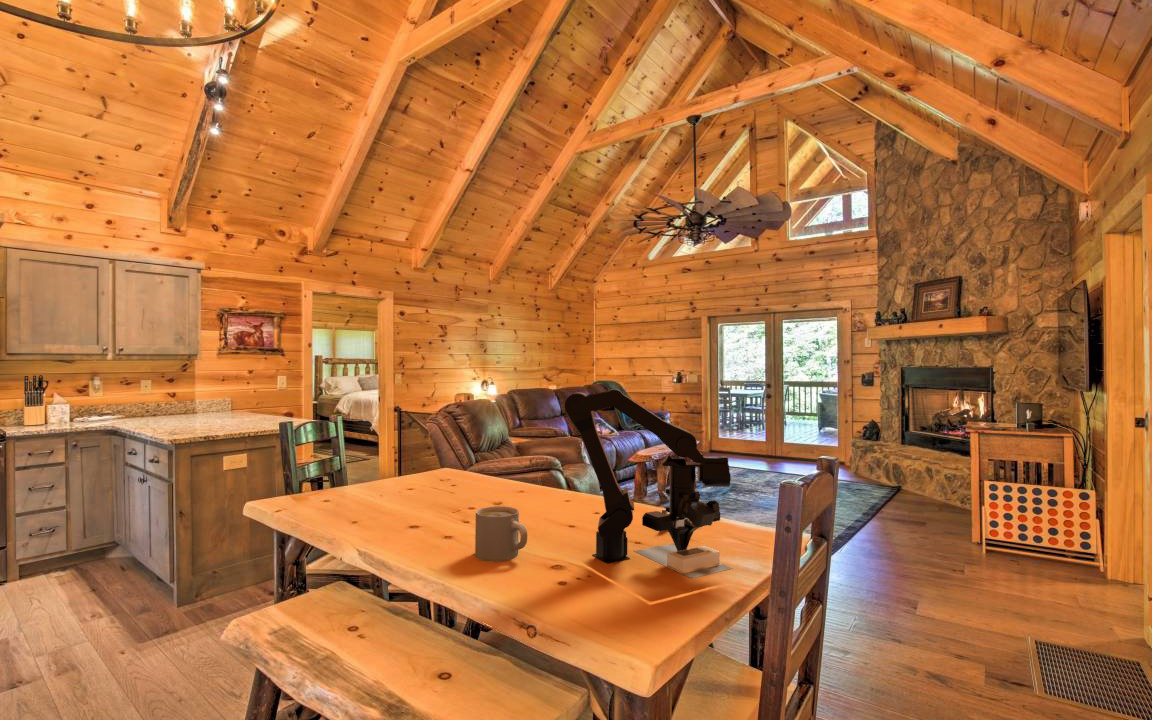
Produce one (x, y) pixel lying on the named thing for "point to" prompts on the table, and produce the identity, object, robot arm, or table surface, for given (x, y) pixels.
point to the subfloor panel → (660, 557)
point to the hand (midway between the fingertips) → (681, 554)
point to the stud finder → (693, 558)
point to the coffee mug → (498, 533)
